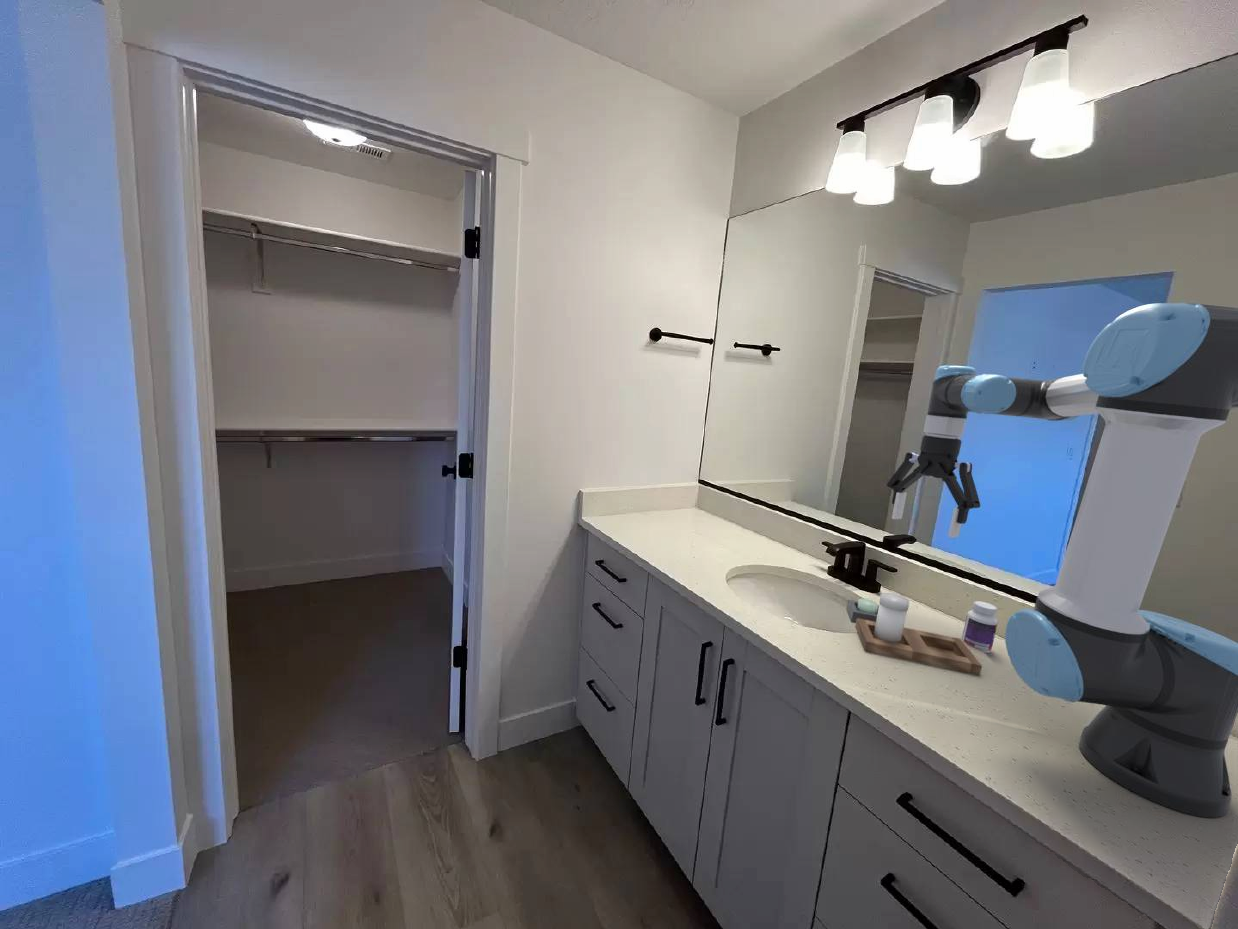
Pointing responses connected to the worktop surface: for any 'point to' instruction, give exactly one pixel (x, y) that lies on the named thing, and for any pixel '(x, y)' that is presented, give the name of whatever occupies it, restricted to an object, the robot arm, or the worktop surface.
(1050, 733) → the worktop surface
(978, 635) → the pill bottle
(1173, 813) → the worktop surface
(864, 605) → the button
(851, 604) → the switch box
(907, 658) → the walnut caddy
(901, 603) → the bottle
